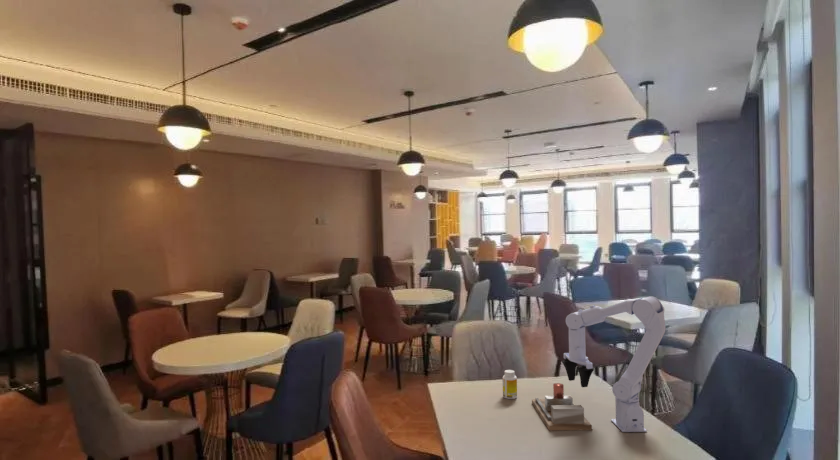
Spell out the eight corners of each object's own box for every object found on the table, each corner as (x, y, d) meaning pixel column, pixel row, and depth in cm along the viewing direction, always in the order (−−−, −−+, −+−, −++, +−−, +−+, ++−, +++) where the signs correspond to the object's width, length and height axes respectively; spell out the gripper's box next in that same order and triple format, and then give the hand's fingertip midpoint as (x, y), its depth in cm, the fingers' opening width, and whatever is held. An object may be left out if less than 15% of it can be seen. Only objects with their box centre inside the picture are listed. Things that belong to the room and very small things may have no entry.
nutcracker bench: (591, 429, 154) (591, 410, 154) (549, 430, 154) (548, 410, 154) (568, 402, 178) (568, 385, 178) (531, 403, 178) (531, 386, 178)
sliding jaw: (573, 411, 165) (572, 386, 165) (547, 411, 165) (547, 386, 165) (569, 407, 169) (569, 382, 169) (544, 407, 169) (544, 383, 169)
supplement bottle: (520, 397, 185) (519, 371, 185) (510, 400, 181) (510, 374, 181) (509, 393, 189) (508, 368, 189) (499, 396, 185) (499, 371, 185)
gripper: (599, 349, 163) (600, 388, 163) (574, 340, 177) (575, 376, 177) (582, 351, 161) (583, 390, 161) (558, 341, 175) (559, 378, 175)
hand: (577, 383), depth 169 cm, fingers open, 7 cm apart
